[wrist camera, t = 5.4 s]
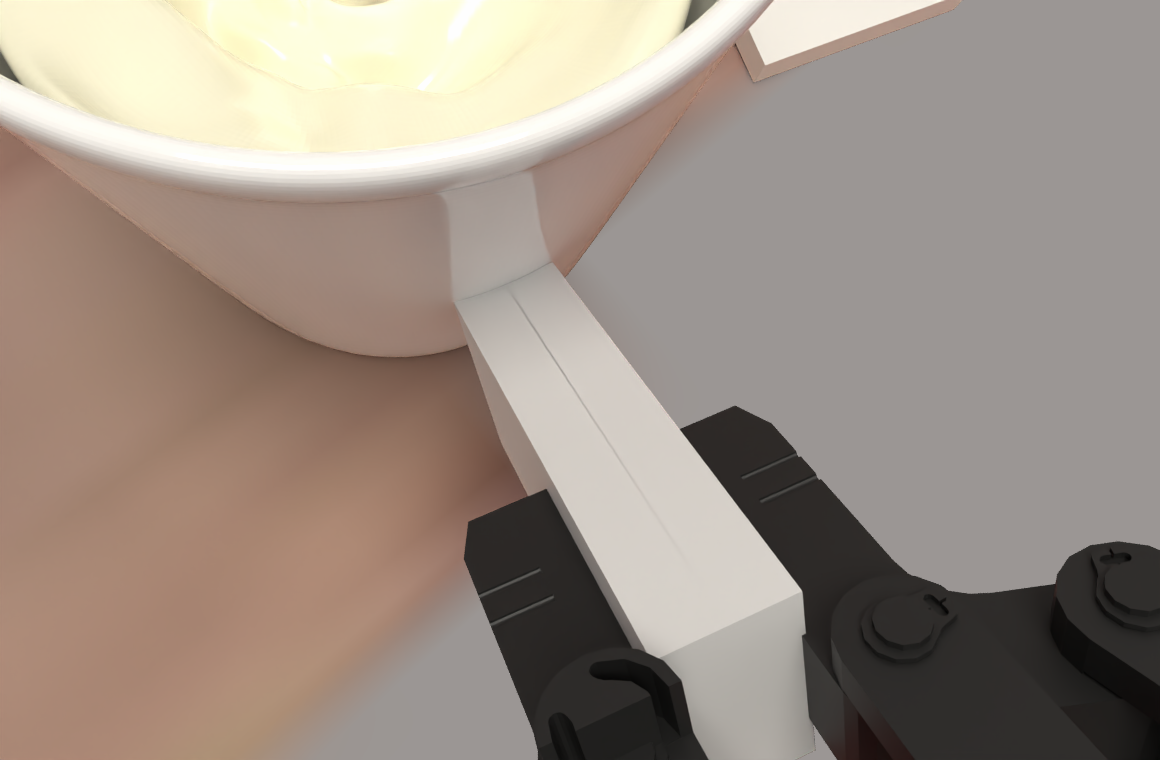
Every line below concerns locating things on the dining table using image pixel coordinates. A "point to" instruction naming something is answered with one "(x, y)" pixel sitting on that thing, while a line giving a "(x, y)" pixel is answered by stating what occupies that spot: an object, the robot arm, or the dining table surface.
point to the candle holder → (360, 138)
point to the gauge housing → (825, 29)
